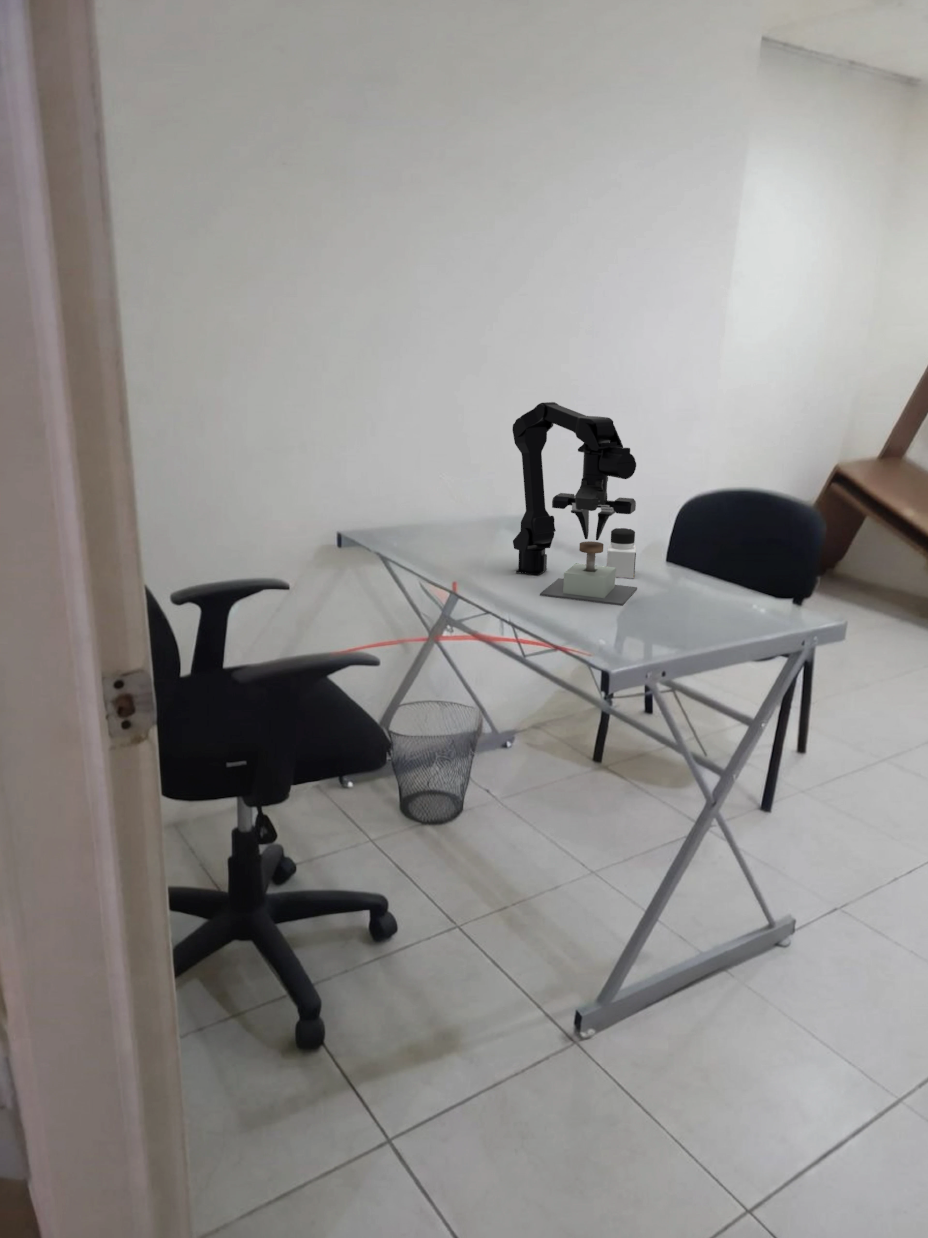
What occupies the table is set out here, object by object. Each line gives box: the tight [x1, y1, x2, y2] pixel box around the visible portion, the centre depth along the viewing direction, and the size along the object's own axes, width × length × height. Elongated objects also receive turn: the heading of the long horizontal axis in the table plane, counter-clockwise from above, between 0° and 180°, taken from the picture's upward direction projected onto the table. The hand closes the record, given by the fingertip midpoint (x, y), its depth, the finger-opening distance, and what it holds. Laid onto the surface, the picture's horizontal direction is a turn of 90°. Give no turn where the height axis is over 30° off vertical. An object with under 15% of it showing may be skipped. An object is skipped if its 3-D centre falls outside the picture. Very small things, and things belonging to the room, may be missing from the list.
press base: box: [539, 563, 638, 606], centre depth 207 cm, size 20×15×6 cm
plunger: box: [578, 540, 605, 572], centre depth 205 cm, size 6×6×6 cm
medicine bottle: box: [606, 527, 637, 579], centre depth 222 cm, size 7×7×12 cm
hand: (591, 539), depth 204 cm, fingers open, 2 cm apart
